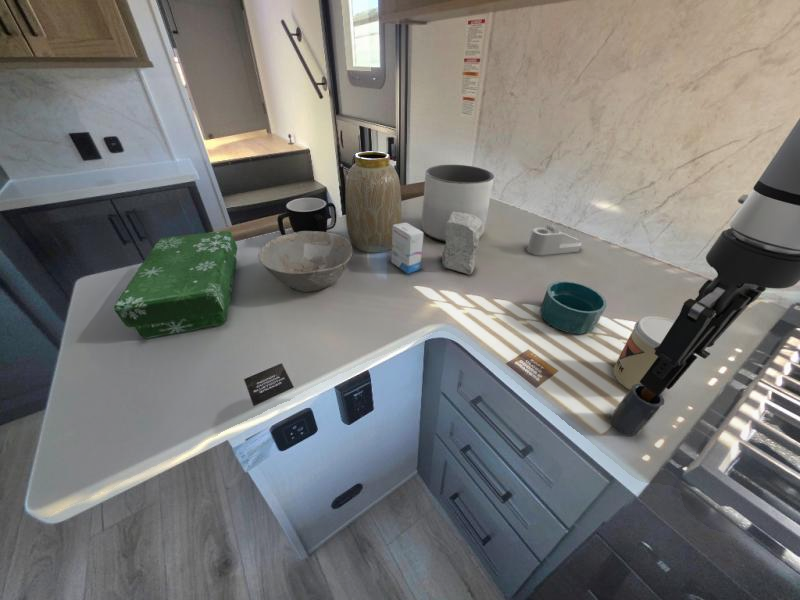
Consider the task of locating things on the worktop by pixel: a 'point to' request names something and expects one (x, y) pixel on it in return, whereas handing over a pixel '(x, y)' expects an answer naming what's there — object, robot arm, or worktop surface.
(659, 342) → the coffee cup
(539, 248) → the grey mounting bracket
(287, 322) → the worktop surface
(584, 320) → the teal bowl
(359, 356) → the worktop surface
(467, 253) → the decorative stone
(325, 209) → the mug
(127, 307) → the box
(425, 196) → the planter
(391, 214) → the vase
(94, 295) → the worktop surface
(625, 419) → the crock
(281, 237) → the ceramic bowl
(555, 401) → the worktop surface
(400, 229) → the ink box
